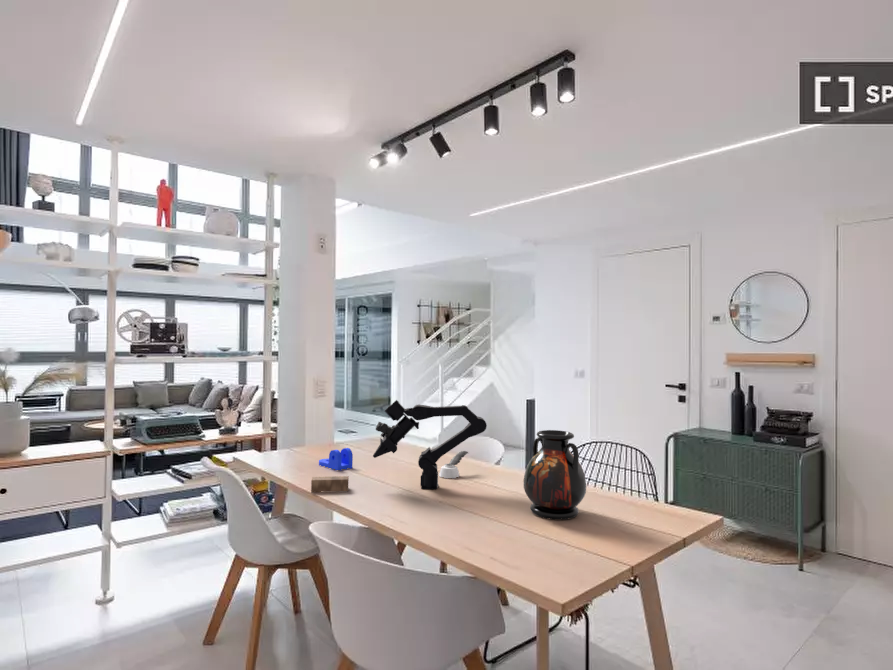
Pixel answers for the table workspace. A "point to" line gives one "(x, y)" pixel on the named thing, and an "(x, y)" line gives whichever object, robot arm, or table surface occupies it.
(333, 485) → the walnut block
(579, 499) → the amphora vase
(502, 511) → the table surface
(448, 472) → the inkwell
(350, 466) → the bracket
